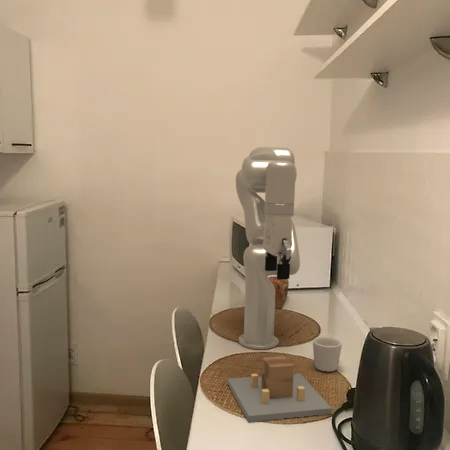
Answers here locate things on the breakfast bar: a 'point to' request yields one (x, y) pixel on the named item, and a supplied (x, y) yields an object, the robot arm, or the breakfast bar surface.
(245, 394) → the base board
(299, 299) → the breakfast bar surface
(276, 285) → the bread
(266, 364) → the walnut block
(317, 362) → the cup
